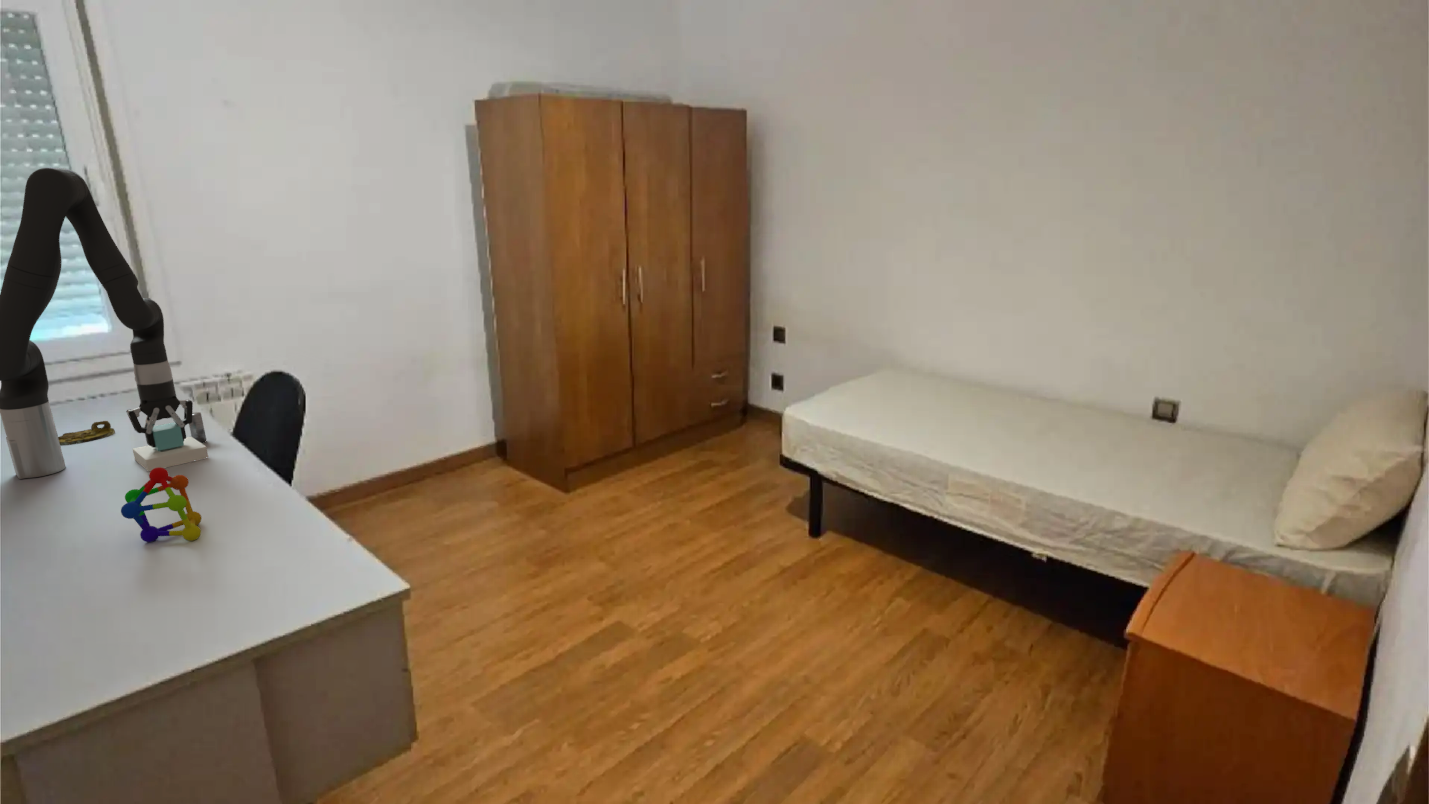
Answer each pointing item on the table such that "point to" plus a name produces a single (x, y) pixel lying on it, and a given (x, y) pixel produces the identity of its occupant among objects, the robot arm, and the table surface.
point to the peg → (197, 427)
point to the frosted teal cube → (167, 436)
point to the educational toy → (174, 503)
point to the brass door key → (87, 434)
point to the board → (170, 454)
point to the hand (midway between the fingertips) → (167, 443)
